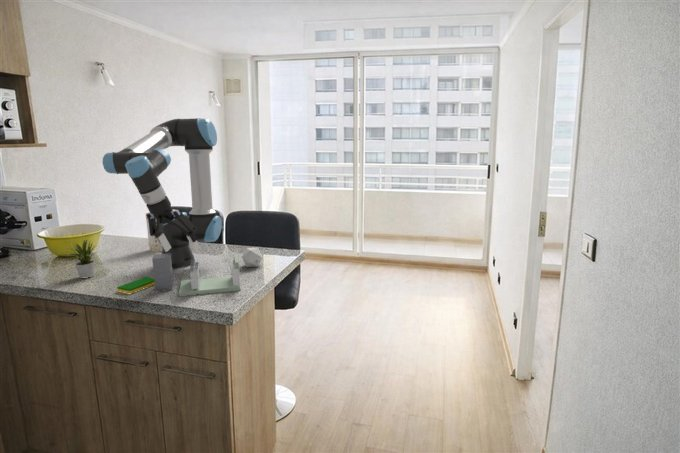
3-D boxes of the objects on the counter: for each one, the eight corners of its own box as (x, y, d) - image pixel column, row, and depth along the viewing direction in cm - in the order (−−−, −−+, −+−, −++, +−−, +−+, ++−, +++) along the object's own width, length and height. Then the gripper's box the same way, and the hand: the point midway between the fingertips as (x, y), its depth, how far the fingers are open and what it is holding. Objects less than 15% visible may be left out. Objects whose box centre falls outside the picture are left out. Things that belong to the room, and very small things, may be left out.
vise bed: (181, 284, 176) (179, 257, 173) (238, 278, 181) (236, 253, 179) (179, 296, 162) (176, 267, 160) (240, 290, 168) (238, 262, 166)
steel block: (157, 286, 173) (154, 254, 170) (173, 285, 175) (170, 253, 172) (155, 291, 168) (152, 258, 165) (172, 290, 169) (169, 257, 166)
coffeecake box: (177, 244, 238) (174, 209, 234) (182, 247, 233) (179, 210, 229) (148, 249, 229) (145, 212, 225) (154, 252, 223) (150, 214, 219)
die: (252, 271, 193) (265, 251, 194) (235, 261, 194) (247, 241, 195) (256, 272, 201) (268, 253, 203) (239, 262, 202) (251, 243, 203)
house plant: (69, 273, 191) (64, 236, 187) (105, 269, 196) (100, 233, 193) (63, 283, 178) (58, 244, 174) (102, 278, 183) (97, 240, 180)
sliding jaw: (193, 279, 176) (191, 259, 174) (199, 278, 176) (198, 258, 175) (191, 290, 164) (189, 268, 162) (198, 289, 164) (196, 268, 162)
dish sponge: (159, 284, 177) (158, 278, 177) (130, 295, 165) (129, 289, 164) (146, 282, 180) (145, 276, 180) (116, 293, 168) (116, 287, 167)
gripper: (122, 207, 156) (150, 256, 166) (177, 202, 146) (203, 254, 156) (136, 197, 161) (163, 244, 172) (190, 191, 152) (215, 242, 162)
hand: (182, 249), depth 164 cm, fingers open, 13 cm apart
